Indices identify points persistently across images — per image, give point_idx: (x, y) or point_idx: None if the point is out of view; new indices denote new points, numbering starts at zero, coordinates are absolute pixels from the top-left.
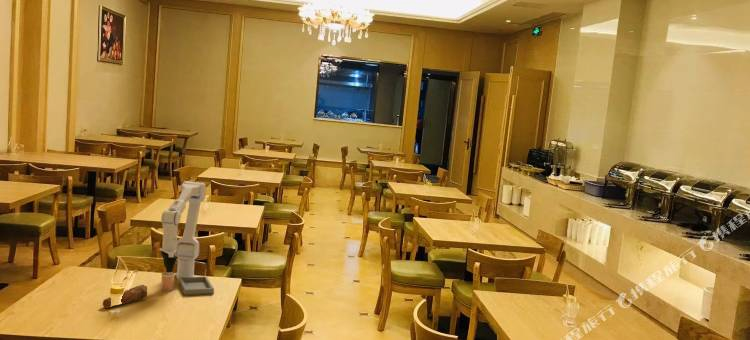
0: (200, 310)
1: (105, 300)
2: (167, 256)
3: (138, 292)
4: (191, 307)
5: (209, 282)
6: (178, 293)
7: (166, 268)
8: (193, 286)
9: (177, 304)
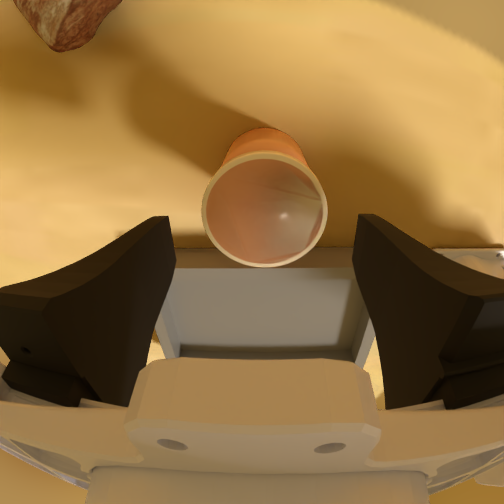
0: (4, 276)
1: None
2: (28, 357)
3: (23, 13)
4: (17, 254)
5: None
6: (183, 222)
7: (127, 232)
8: (277, 305)
9: (30, 206)
